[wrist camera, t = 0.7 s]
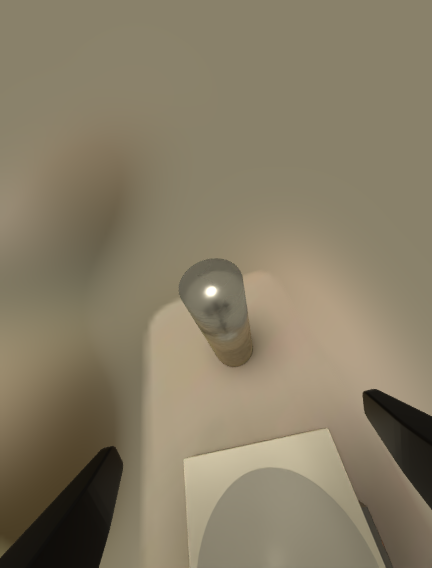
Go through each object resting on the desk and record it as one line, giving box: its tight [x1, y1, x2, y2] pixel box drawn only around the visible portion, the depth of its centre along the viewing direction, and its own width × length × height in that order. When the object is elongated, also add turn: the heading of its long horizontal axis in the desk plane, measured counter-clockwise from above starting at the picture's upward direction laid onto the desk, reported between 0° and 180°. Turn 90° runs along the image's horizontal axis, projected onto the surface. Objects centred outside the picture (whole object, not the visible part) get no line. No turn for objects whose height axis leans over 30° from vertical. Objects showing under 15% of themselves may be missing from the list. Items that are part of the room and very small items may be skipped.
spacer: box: [179, 258, 253, 367], centre depth 19 cm, size 4×4×13 cm
